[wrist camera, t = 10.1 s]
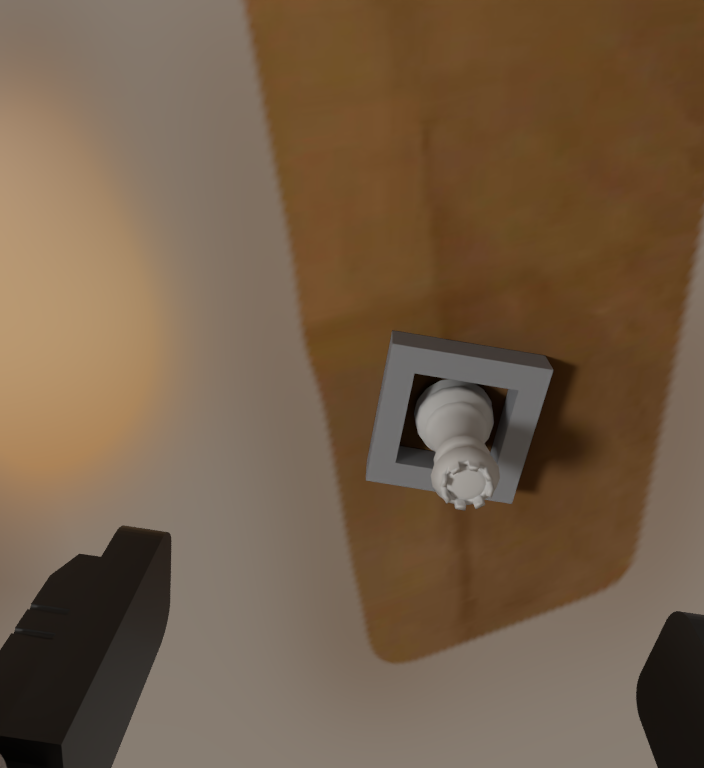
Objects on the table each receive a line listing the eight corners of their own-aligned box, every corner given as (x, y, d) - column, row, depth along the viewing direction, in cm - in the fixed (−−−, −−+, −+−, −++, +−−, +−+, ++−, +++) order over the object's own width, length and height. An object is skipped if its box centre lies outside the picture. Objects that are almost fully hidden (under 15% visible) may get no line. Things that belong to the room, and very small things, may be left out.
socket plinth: (392, 330, 36) (392, 343, 34) (544, 355, 36) (553, 370, 34) (366, 461, 39) (365, 480, 38) (506, 484, 40) (511, 503, 38)
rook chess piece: (469, 454, 39) (488, 539, 32) (400, 427, 38) (403, 507, 31) (506, 392, 37) (534, 467, 30) (434, 362, 37) (445, 431, 29)
